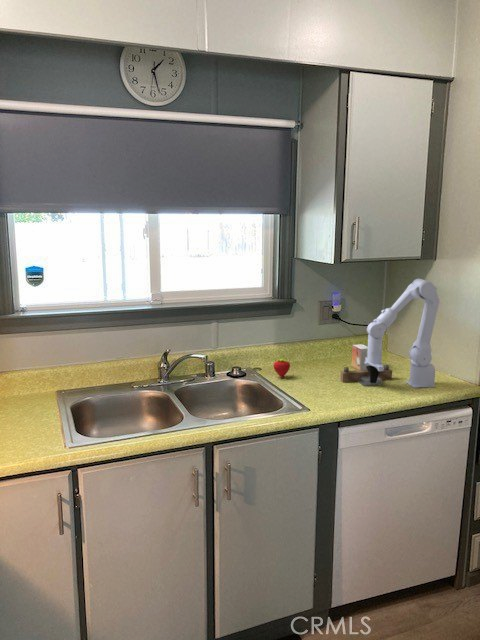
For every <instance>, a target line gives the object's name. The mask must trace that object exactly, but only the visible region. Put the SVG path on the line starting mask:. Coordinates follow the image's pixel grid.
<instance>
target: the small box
mask: <svg viewBox="0 0 480 640" xmlns="http://www.w3.org/2000/svg"><path fill="white" fill-rule="evenodd" d="M351 347H352V348H351V363H350V364H351V365H350V366H351V368H354V369H356V370H367V368H366V366H369V365H368V364H365V363H364V362H365V357H367V353H368V345H364V343H360V344H352V345H351Z"/></svg>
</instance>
